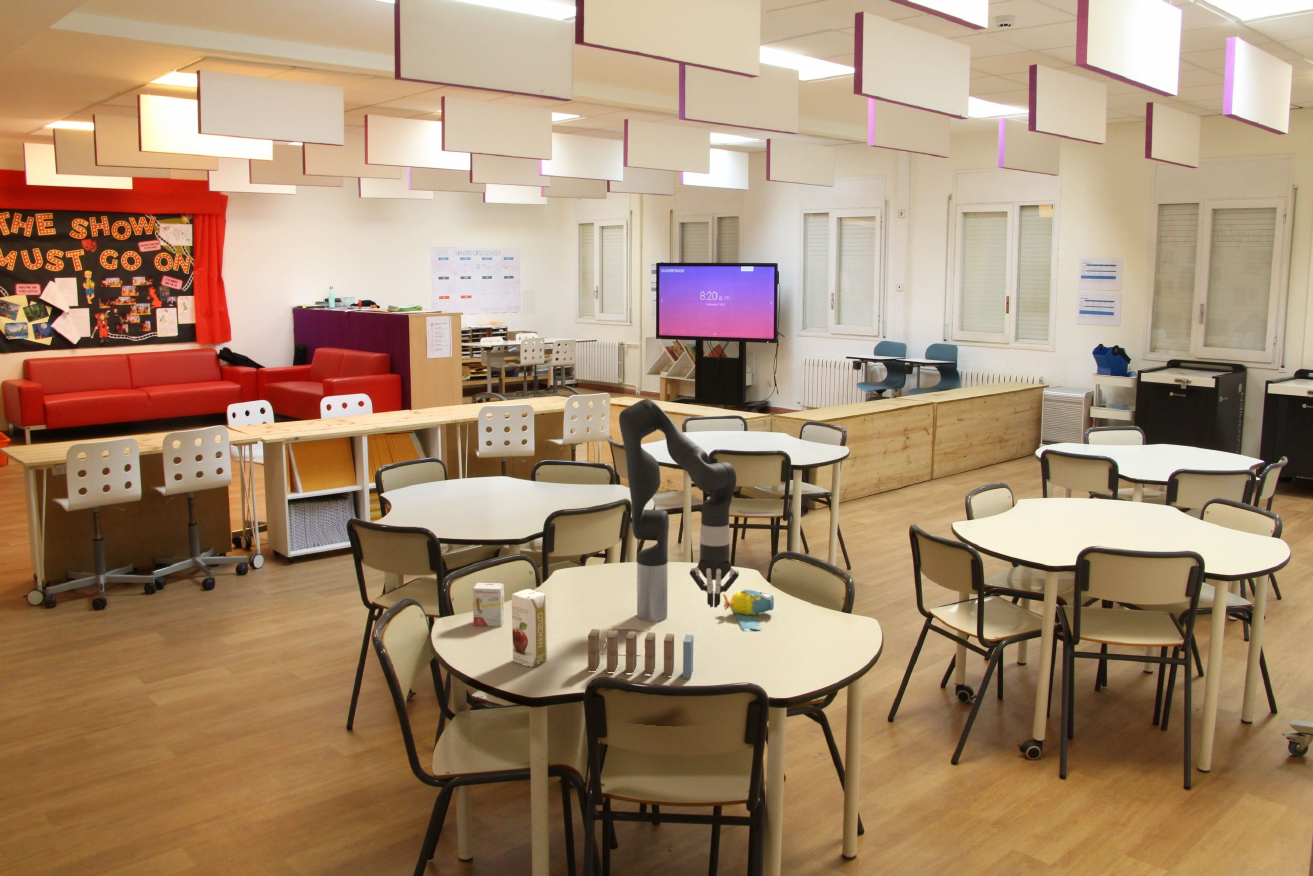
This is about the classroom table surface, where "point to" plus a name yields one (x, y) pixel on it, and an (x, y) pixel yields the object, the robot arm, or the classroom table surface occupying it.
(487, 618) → the ink box
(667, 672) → the domino
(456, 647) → the classroom table surface
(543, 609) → the juice carton
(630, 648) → the domino
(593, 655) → the domino
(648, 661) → the domino
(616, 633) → the domino
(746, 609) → the toy airplane
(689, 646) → the blue domino
